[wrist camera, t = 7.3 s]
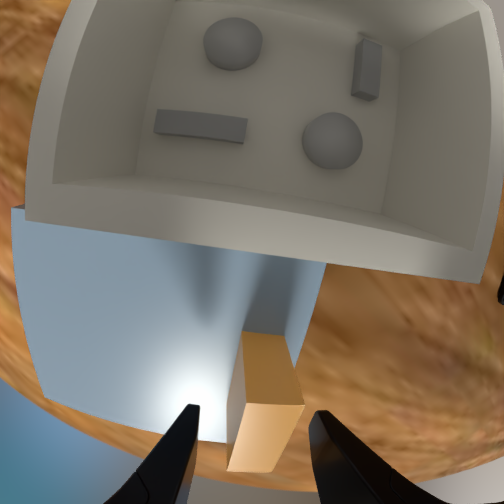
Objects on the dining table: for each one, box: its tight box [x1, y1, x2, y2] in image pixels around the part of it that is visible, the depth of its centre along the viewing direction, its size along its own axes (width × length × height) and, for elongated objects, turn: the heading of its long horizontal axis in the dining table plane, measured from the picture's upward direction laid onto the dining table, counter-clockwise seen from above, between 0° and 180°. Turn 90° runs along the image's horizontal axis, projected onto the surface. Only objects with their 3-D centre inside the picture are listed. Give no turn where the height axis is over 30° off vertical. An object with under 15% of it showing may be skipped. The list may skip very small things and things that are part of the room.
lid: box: [11, 204, 326, 472], centre depth 9 cm, size 12×10×6 cm
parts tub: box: [25, 0, 504, 284], centre depth 7 cm, size 11×9×6 cm
